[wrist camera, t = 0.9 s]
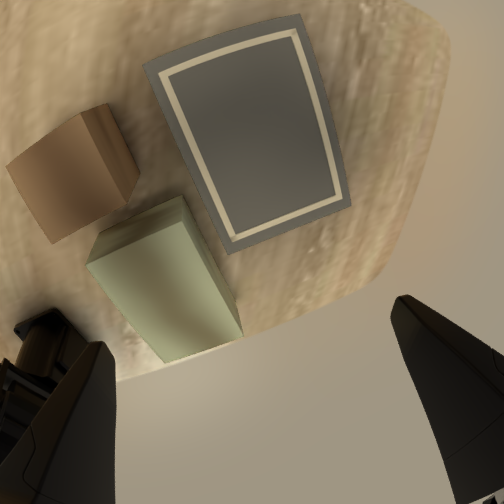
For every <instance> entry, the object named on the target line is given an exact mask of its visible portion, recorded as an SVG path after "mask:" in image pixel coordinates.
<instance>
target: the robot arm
mask: <svg viewBox="0 0 504 504" xmlns="http://www.w3.org/2000/svg"><path fill="white" fill-rule="evenodd" d="M54 314H55V315H54ZM390 317H391V323H392V326H393V329H394V332H395V335H396V337H397V341H398V344H399V346H400V349H401V353H402V355H403V359H404V361H405V364H406V366H407V368H408V371H409V373H410V375H411V378H412V380H413V382H414V385H415V387H416V390H417V392H418V395H419V397H420V399H421V402H422V404H423V407H424V409H425V412H426V415H427V417H428V420H429V422H430V425H431V428H432V430H433V433H434V436H435V438H436V441H437V444H438V447H439V450H440V453H441V456H442V459H443V461H444V465H445V468H446V471H447V475H448V478H449V481H450V484H451V488H452V491H453V494H454V498H455V501H456V504H469V503H472V502H474V501H476V500H479V499H481V498H483V497H485V496H488V495H490V494H492V493H494V494H493V495H492V496H490V497H489V498H488V499H486V500H485V501H484V502H483V504H504V356H503V355H502V354H500V353H499V352H497V351H496V350H494V349H493V348H492V349H491V347H490V346H488V345H487V344H485V343H483V342H482V341H481V340H479V339H478V338H476V337H474V336H473V335H472V334H470V333H469V332H467V331H465V330H464V329H462V328H461V327H459V326H458V325H456V324H455V323H453V322H452V321H450V320H449V319H447V318H446V317H444V316H442V315H441V314H439V313H438V312H436V311H435V310H433V309H431V308H430V307H428V306H427V305H425V304H423V303H422V302H420V301H418V300H417V299H415V298H414V297H412V296H410V295H402V296H398V297H397V298H396V300H395V303H394V306H393V309H392V312H391V316H390ZM14 332H15V334H16V335H17V336H18V337H19V338H20V339H21V340H22V341H23V344H22V346H21V349H20V352H19V354H18V357H17V360H16V363H15V365H13V364H12V363H10V361H9V360H8V359H6V358H5V357H4V359H3V361H2V362H1V363H0V504H115V428H116V377H115V359H114V357H113V355H112V353H111V352H110V350H109V349H108V347H107V345H106V344H105V342H103V341H93V342H91V343H90V344H89V343H88V342H87V341H86V340H85V339H84V338H83V337H82V336H81V335H80V334H79V333H78V332H77V331H76V330H75V329H74V327H73V326H72V325H71V324H70V323H69V322H68V321H67V320H66V319H65V317H64V316H63V315H62V314H61V313H60V312H59V311H58V310H57V309H54V308H53V309H50V310H48V311H46V312H43V313H41V314H39V315H37V316H35V317H33V318H31V319H28V320H26V321H24V322H22V323H20V324H18V325H16V326H15V328H14Z"/></svg>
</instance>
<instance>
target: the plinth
mask: <svg viewBox="0 0 504 504" xmlns="http://www.w3.org/2000/svg"><path fill="white" fill-rule="evenodd" d="M142 66H143V68H144V70H145V73H146V75H147V77H148V80H149V82H150V84H151V87H152V89H153V91H154V94H155V96H156V98H157V100H158V103H159V105H160V107H161V110H162V112H163V114H164V116H165V119H166V121H167V123H168V126H169V128H170V130H171V132H172V135H173V137H174V139H175V141H176V144H177V146H178V148H179V150H180V152H181V155H182V157H183V159H184V161H185V164H186V166H187V168H188V170H189V172H190V175H191V177H192V179H193V181H194V183H195V186H196V188H197V190H198V192H199V194H200V196H201V199H202V201H203V203H204V205H205V207H206V209H207V212H208V214H209V216H210V218H211V220H212V222H213V225H214V227H215V229H216V231H217V233H218V235H219V237H220V239H221V242H222V244H223V246H224V248H225V250H226V252H227V254H228V255H230V254H232V253H235V252H237V251H240V250H242V249H245V248H247V247H250V246H252V245H255V244H257V243H260V242H262V241H265V240H267V239H270V238H272V237H275V236H277V235H280V234H282V233H285V232H287V231H290V230H292V229H295V228H297V227H300V226H302V225H305V224H307V223H310V222H312V221H315V220H317V219H320V218H322V217H325V216H327V215H330V214H332V213H335V212H337V211H340V210H342V209H345V208H347V207H350V206H352V205H351V199H350V194H349V189H348V184H347V179H346V174H345V169H344V164H343V160H342V155H341V151H340V146H339V142H338V138H337V134H336V130H335V126H334V122H333V118H332V114H331V110H330V106H329V103H328V99H327V95H326V92H325V88H324V85H323V81H322V78H321V75H320V71H319V68H318V65H317V62H316V58H315V55H314V52H313V49H312V46H311V43H310V40H309V37H308V34H307V32H306V29H305V26H304V23H303V20H302V18H301V15H300V14H295V15H290V16H285V17H280V18H276V19H271V20H267V21H263V22H259V23H255V24H252V25H248V26H244V27H241V28H237V29H234V30H231V31H227V32H224V33H221V34H218V35H215V36H212V37H209V38H206V39H203V40H200V41H198V42H195V43H192V44H190V45H187V46H184V47H182V48H179V49H177V50H174V51H172V52H170V53H167V54H165V55H162V56H160V57H158V58H156V59H153V60H151V61H149V62H147V63H145V64H143V65H142Z"/></svg>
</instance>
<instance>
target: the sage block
mask: <svg viewBox="0 0 504 504" xmlns="http://www.w3.org/2000/svg"><path fill="white" fill-rule="evenodd" d="M85 266H86V267H87V269H88V270H89V272H90V273H91V274H92V276H93V277H94V278H95V280H96V281H97V282H98V284H99V285H100V286H101V288H102V289H103V290H104V292H105V293H106V294H107V296H108V297H109V298H110V300H111V301H112V302H113V303H114V305H115V306H116V307H117V308H118V310H119V311H120V312H121V313H122V315H123V316H124V317H125V318H126V320H127V321H128V322H129V323H130V324H131V326H132V327H133V328H134V329H135V330H136V332H137V333H138V334H139V335H140V336H141V337H142V339H143V340H144V341H145V342H146V343H147V344H148V345H149V347H150V348H151V349H152V350H153V351H154V352H155V353H156V354H157V355H158V357H159V358H160V359H161V360H162V361H163V362H164V363H168V362H171V361H174V360H178V359H181V358H184V357H187V356H190V355H193V354H196V353H199V352H202V351H205V350H208V349H210V348H213V347H216V346H219V345H222V344H225V343H227V342H230V341H233V340H236V339H238V338H241V337H244V334H243V330H242V326H241V322H240V318H239V314H238V310H237V306H236V301H235V300H234V298H233V296H232V294H231V292H230V290H229V288H228V286H227V284H226V282H225V280H224V278H223V276H222V274H221V272H220V270H219V268H218V266H217V264H216V263H215V261H214V259H213V257H212V255H211V253H210V251H209V249H208V247H207V245H206V243H205V241H204V239H203V237H202V235H201V232H200V230H199V228H198V226H197V224H196V222H195V220H194V218H193V216H192V214H191V212H190V210H189V208H188V206H187V204H186V202H185V200H184V198H183V195H180V196H178V197H175V198H173V199H171V200H168V201H166V202H164V203H162V204H160V205H157V206H155V207H153V208H151V209H149V210H146V211H144V212H142V213H140V214H138V215H136V216H134V217H132V218H129V219H127V220H125V221H123V222H121V223H119V224H117V225H115V226H113V227H111V228H109V229H107V230H105V231H103V232H101V233H99V235H98V237H97V239H96V241H95V243H94V246H93V248H92V250H91V253H90V255H89V257H88V260H87V262H86V265H85Z"/></svg>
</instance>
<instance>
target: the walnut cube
mask: <svg viewBox="0 0 504 504" xmlns="http://www.w3.org/2000/svg"><path fill="white" fill-rule="evenodd" d="M5 167H6V169H7V170H8V172H9V174H10V176H11V178H12V180H13V182H14V184H15V185H16V187H17V189H18V191H19V193H20V194H21V196H22V198H23V199H24V201H25V203H26V205H27V206H28V208H29V210H30V211H31V213H32V215H33V216H34V218H35V219H36V221H37V223H38V224H39V226H40V227H41V229H42V230H43V232H44V234H45V235H46V237H47V238H48V240H49V241H50V243H51V244H54V243H55V242H57V241H59V240H61V239H62V238H64V237H66V236H68V235H70V234H71V233H73V232H75V231H77V230H79V229H80V228H82V227H84V226H86V225H88V224H90V223H92V222H93V221H95V220H97V219H99V218H101V217H103V216H105V215H107V214H109V213H111V212H113V211H115V210H117V209H119V208H121V207H123V206H125V205H127V203H128V200H129V198H130V195H131V193H132V191H133V188H134V186H135V184H136V182H137V179H138V177H139V175H140V171H139V169H138V167H137V165H136V163H135V161H134V159H133V157H132V155H131V153H130V151H129V149H128V147H127V145H126V143H125V141H124V139H123V137H122V135H121V133H120V131H119V128H118V126H117V124H116V122H115V120H114V118H113V116H112V113H111V111H110V109H109V107H108V105H107V103H106V104H103V105H100V106H98V107H95V108H92V109H89V110H87V111H84V112H81V113H79V114H78V115H76V116H74V117H73V118H71V119H70V120H68V121H67V122H65V123H64V124H62V125H61V126H59V127H58V128H56V129H55V130H53V131H52V132H50V133H49V134H47V135H46V136H44V137H43V138H42V139H40V140H39V141H38V142H36V143H35V144H33V145H32V146H31V147H29V148H28V149H27V150H25V151H24V152H23V153H22V154H20V155H19V156H18V157H17V158H15V159H14V160H13V161H12V162H10V163H9V164H8V165H7V166H5Z"/></svg>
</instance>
